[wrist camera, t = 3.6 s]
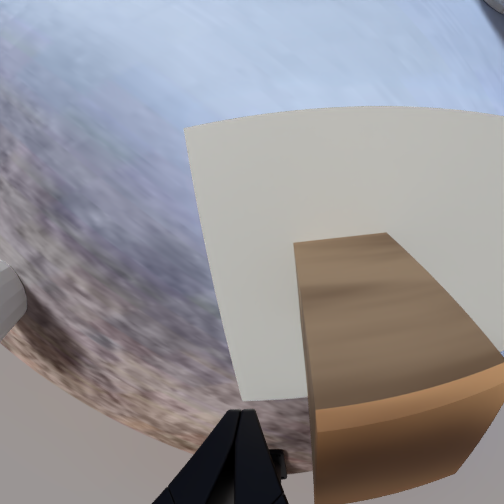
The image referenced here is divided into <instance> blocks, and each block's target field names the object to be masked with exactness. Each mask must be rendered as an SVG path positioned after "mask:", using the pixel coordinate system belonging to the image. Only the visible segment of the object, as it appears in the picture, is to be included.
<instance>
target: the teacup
mask: <svg viewBox="0 0 504 504" xmlns="http://www.w3.org/2000/svg"><path fill="white" fill-rule="evenodd" d="M484 1H485V2H486V3H487V4H489V5H490V6H491V7H492V8H494V9H495V10H497V11H498V12H500V13H502V14H504V0H484Z"/></svg>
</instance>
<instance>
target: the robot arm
mask: <svg viewBox="0 0 504 504" xmlns="http://www.w3.org/2000/svg"><path fill="white" fill-rule="evenodd" d="M286 478H287V472H286V465H285V459H284V453H283V451H282V450H269V449H268V446H267V443H266V440H265V438H264V435H263V432H262V429H261V426H260V423H259V420H258V417H257V414H256V411H255V409H244V410H239V409H235V410H228V411H227V412H226V414H225V415H224V416H223V418H222V419H221V420H220V422H219V423H218V424H217V426H216V427H215V428H214V429H213V431H212V432H211V433H210V435H209V436H208V437H207V438H206V440H205V441H204V442H203V444H202V445H201V446H200V447H199V449H198V450H197V451H196V452H195V454H194V455H193V456H192V458H191V459H190V460H189V461H188V462H187V464H186V465H185V466H184V467H183V468H182V470H181V471H180V472H179V473H178V475H177V476H176V477H175V478H174V479H173V480H172V482H171V483H170V484H169V485H168V487H167V488H165V490H164V491H163V492H162V493H161V494H160V496H158V498H157V499H156V500H155V501H154V502H153V503H152V504H288V501H287V499H286V496H285V494H284V491H283V488H282V486H281V479H286Z"/></svg>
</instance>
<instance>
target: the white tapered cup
mask: <svg viewBox="0 0 504 504" xmlns="http://www.w3.org/2000/svg"><path fill="white" fill-rule="evenodd" d="M26 310H27V297H26V294H25V290H24V287H23V285H22V283H21V281H20V279H19V277H18V275H17V274H16V273H15V271H14V270H13V269H12V267H11V266H10V265H8V264H7V263H6V262H4V261H3V260H0V342H1V340H2V339H3V338H4V337H5V336H6V335H7V333H8V332H9V331H10V330H11V329H12V328H13V326H14V325H15V324H16V323H17V322H18V321H19V320H20V318H21V317H22V316H23V315H24V314H25V312H26Z"/></svg>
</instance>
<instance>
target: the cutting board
mask: <svg viewBox="0 0 504 504" xmlns="http://www.w3.org/2000/svg"><path fill="white" fill-rule="evenodd" d="M184 133H185V139H186V145H187V151H188V157H189V163H190V169H191V174H192V180H193V185H194V191H195V196H196V201H197V206H198V212H199V217H200V222H201V227H202V232H203V237H204V242H205V247H206V251H207V256H208V261H209V265H210V270H211V275H212V279H213V284H214V288H215V293H216V297H217V301H218V306H219V310H220V314H221V319H222V323H223V327H224V331H225V335H226V339H227V344H228V348H229V352H230V356H231V360H232V364H233V367H234V371H235V375H236V379H237V383H238V387H239V390H240V394H241V398H242V401H261V400H278V399H291V398H302V397H308V393H307V382H306V371H305V361H304V351H303V341H302V332H301V322H300V310H299V298H298V287H297V276H296V266H295V256H294V247H293V243H295V242H304V241H313V240H322V239H331V238H340V237H349V236H358V235H367V234H376V233H385V232H387V233H388V234H389V235H390V236H391V237H392V238H393V239H394V240H395V241H396V242H397V243H399V244H400V245H401V246H402V247H403V248H404V249H405V250H406V251H407V252H408V253H409V254H410V255H411V256H412V257H413V258H414V259H415V260H416V261H417V262H418V263H419V264H420V265H421V266H423V267H424V268H425V269H426V270H427V271H428V272H429V273H430V274H431V275H432V277H433V278H434V279H435V280H436V281H437V282H438V283H439V284H440V285H441V286H442V287H443V288H444V289H445V290H446V291H447V292H448V293H449V294H450V295H451V296H452V297H453V298H454V300H455V301H456V302H457V303H458V304H459V305H460V306H461V307H462V308H463V309H464V311H465V312H466V313H467V314H468V315H469V316H470V317H471V318H472V320H473V321H474V322H475V323H476V324H477V325H478V327H479V328H480V329H481V330H482V331H483V332H484V334H485V335H486V336H487V337H488V338H489V340H490V341H491V342H492V343H493V345H494V346H495V347H496V348H497V350H498V351H499V352H501V351H504V116H499V115H493V114H486V113H479V112H471V111H462V110H453V109H441V108H426V107H403V106H358V107H334V108H318V109H306V110H295V111H285V112H277V113H268V114H261V115H254V116H247V117H241V118H235V119H229V120H223V121H217V122H212V123H207V124H202V125H197V126H192V127H188V128H184Z"/></svg>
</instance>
